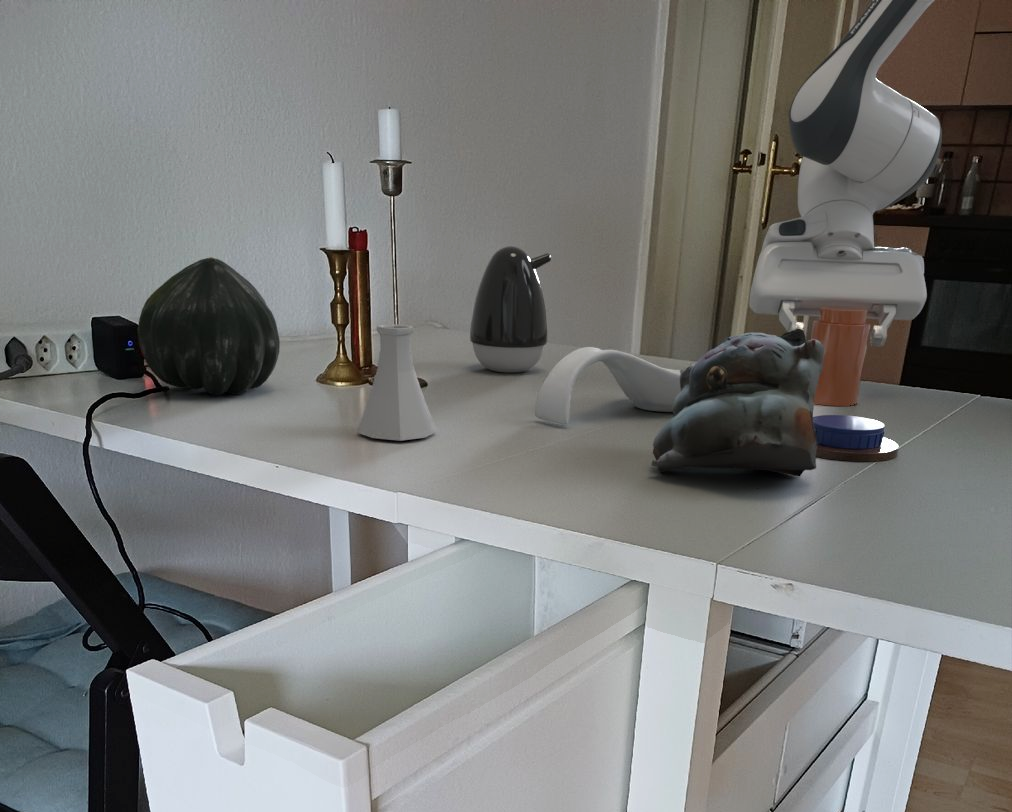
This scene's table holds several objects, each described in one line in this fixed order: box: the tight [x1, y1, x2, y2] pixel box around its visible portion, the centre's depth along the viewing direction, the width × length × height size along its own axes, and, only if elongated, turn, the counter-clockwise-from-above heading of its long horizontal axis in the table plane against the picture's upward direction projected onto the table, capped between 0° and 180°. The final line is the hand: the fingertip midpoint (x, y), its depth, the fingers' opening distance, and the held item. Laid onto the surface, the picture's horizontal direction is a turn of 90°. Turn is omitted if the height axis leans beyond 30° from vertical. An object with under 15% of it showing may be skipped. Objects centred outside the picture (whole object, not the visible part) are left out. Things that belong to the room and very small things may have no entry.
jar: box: [810, 306, 872, 407], centre depth 119 cm, size 6×6×10 cm
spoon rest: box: [534, 346, 681, 425], centre depth 109 cm, size 24×12×7 cm, turn 131°
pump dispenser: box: [469, 245, 552, 374], centre depth 132 cm, size 10×10×15 cm
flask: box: [356, 323, 437, 442], centre depth 96 cm, size 7×7×10 cm
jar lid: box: [813, 414, 885, 449], centre depth 97 cm, size 7×7×2 cm
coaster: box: [815, 437, 899, 463], centre depth 98 cm, size 10×10×1 cm
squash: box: [137, 257, 281, 396], centre depth 113 cm, size 14×15×15 cm
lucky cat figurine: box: [651, 329, 825, 477], centre depth 87 cm, size 15×12×14 cm
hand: (837, 341), depth 119 cm, fingers open, 8 cm apart
